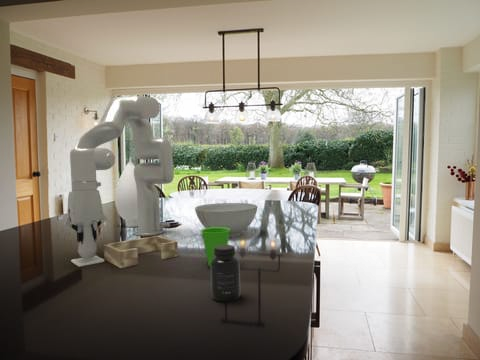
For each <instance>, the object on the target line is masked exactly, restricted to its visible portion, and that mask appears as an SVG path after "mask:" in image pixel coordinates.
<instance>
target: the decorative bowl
mask: <svg viewBox="0 0 480 360" xmlns="http://www.w3.org/2000/svg"><path fill="white" fill-rule="evenodd" d="M258 207H259V206H258V205H257V204H253V203H247V202H245V203H244V202H220V203H219V202H218V203H217V202H216V203H208V204H207V203H206V204H201V205H198V206H197V205H196V206H195V207H194V211H195V214H196V216H197V219H198V220H199V222H200V223H201V225H202V226H203V227H204V229H205V228H210V227H225V228H229V229H230V231H229V238H234V237H238V236H240V235H242V232H244V231H245V230H246V229H247V228H249V226H250V225H251V224H252V223H253V222H254V219H255V217H256V215H257V212H258Z"/></svg>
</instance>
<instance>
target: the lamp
mask: <svg viewBox="0 0 480 360" xmlns="http://www.w3.org/2000/svg"><path fill="white" fill-rule="evenodd" d="M135 166H136V165H135V164H134V162H132V157H131V156H129V161H128V162H127V163H126V165H125V167H124V169H123V170H122V173H121V174H120V177H119V179H118V181H117V183H116V186H115V191H114V204H115V208H116V212H117V213H118V215H119V217H121V218H122V220H124V221H125V220H126V222H125V227H127V228H134V227H138V209H137V189H136V182H135V178H134V168H135Z"/></svg>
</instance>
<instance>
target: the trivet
mask: <svg viewBox="0 0 480 360" xmlns="http://www.w3.org/2000/svg"><path fill="white" fill-rule="evenodd" d="M70 262H72V263H73V264H74V265H76V266H77V267H83V266H90V265H94V264H95V265H96V264H99V263H103V262H105V260H104V258H102V257H99V256H98V255H96V254H95V256H94V257H92V258H82V257H79V258H74V259H71V260H70Z"/></svg>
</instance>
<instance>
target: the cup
mask: <svg viewBox="0 0 480 360" xmlns="http://www.w3.org/2000/svg"><path fill="white" fill-rule="evenodd" d="M229 231H230V229H229V228H225V227H210V228H205V227H204V228H202V229H201V230H200V232H201V235H202V240H203V245H204V251H205V256H206V262H207V266H208V267H210V268H211V266H210V265H211V261H212V259H213V258H215V256H214V247H216V246H219V245H229V238H230V237H229Z"/></svg>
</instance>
